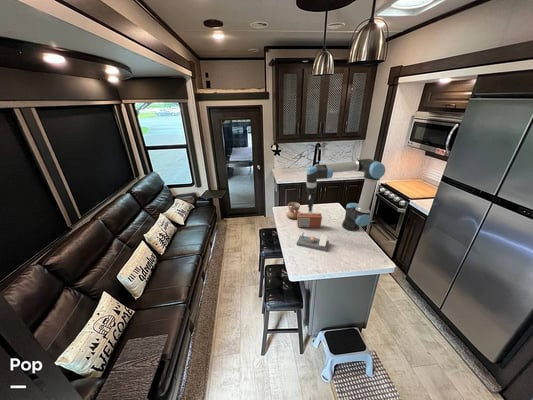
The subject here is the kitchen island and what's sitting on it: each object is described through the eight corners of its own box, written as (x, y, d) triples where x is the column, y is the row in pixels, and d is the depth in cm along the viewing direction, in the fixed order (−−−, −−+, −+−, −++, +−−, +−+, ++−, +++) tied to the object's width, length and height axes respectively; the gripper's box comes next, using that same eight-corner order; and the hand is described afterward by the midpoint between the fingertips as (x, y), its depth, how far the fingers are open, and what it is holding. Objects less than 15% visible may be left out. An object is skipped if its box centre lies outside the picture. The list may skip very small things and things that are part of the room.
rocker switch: (327, 236, 175) (327, 235, 175) (325, 247, 168) (325, 246, 167) (321, 235, 177) (321, 234, 176) (318, 245, 169) (318, 244, 169)
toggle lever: (304, 237, 179) (304, 232, 173) (304, 239, 177) (303, 234, 172) (302, 237, 180) (301, 231, 174) (301, 239, 178) (301, 233, 173)
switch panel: (328, 243, 178) (329, 239, 176) (326, 251, 168) (327, 247, 166) (300, 237, 186) (300, 233, 185) (296, 245, 176) (296, 240, 175)
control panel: (319, 224, 206) (321, 211, 198) (320, 229, 200) (322, 216, 192) (297, 223, 208) (297, 211, 200) (297, 228, 202) (298, 216, 194)
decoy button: (315, 239, 176) (316, 237, 176) (315, 241, 173) (315, 239, 172) (311, 238, 178) (311, 236, 177) (310, 240, 174) (310, 238, 174)
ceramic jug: (285, 213, 230) (286, 201, 225) (299, 213, 230) (300, 201, 224) (287, 221, 214) (287, 208, 208) (301, 221, 213) (302, 208, 208)
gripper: (308, 183, 175) (307, 210, 184) (304, 189, 164) (304, 216, 173) (317, 184, 172) (316, 211, 181) (314, 189, 161) (313, 218, 170)
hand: (310, 213), depth 177 cm, fingers closed
